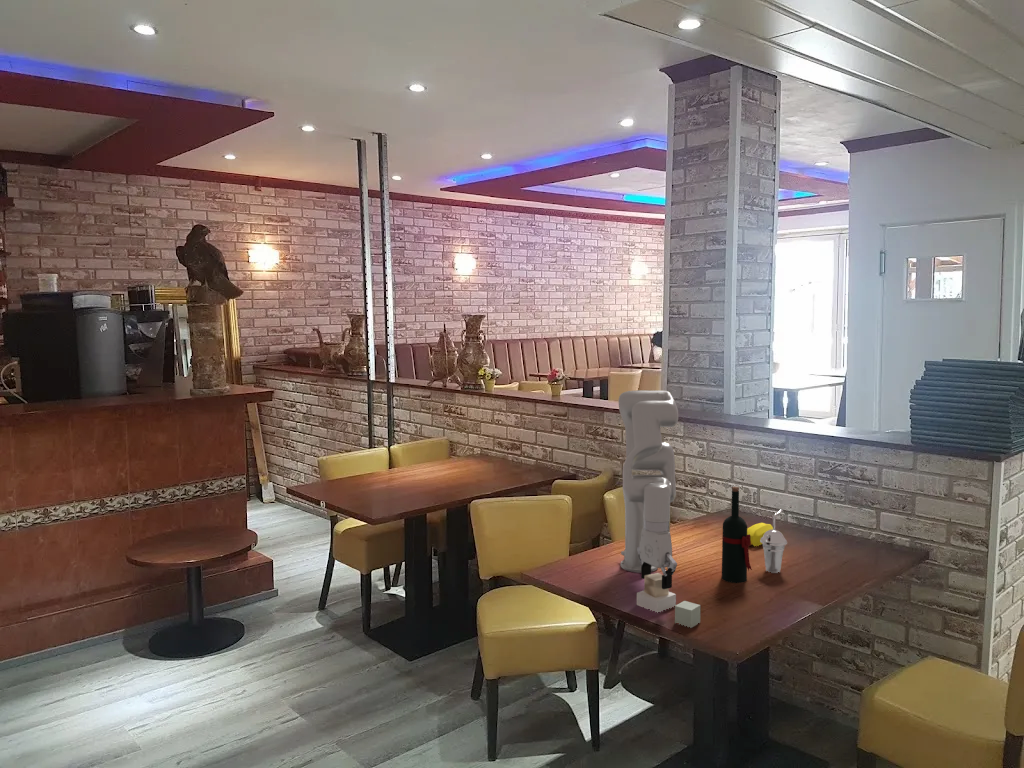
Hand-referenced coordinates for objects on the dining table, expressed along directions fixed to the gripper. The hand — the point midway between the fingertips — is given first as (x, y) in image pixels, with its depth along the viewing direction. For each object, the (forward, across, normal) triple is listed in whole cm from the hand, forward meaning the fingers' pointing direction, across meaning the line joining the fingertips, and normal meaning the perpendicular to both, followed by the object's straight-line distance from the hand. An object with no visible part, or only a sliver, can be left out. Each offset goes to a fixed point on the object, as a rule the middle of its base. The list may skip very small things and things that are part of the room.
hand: (656, 582), depth 217 cm
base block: (+7, 0, 0) cm, 7 cm away
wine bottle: (+7, -5, +36) cm, 37 cm away
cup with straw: (+7, -6, +53) cm, 54 cm away
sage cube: (+7, +14, 0) cm, 16 cm away
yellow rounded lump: (+7, -32, +72) cm, 79 cm away
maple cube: (+3, 0, 0) cm, 3 cm away
